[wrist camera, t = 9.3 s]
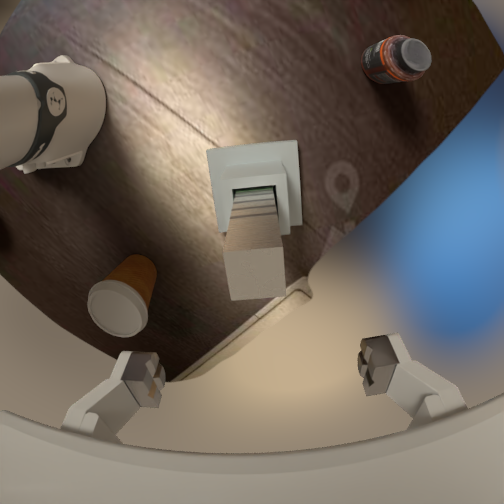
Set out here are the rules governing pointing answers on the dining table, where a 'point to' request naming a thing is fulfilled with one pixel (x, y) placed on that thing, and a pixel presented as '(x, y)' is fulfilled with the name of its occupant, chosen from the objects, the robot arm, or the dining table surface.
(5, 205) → the dining table surface
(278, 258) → the column
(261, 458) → the robot arm
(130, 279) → the disposable coffee cup
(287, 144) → the stand base
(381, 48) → the supplement bottle
